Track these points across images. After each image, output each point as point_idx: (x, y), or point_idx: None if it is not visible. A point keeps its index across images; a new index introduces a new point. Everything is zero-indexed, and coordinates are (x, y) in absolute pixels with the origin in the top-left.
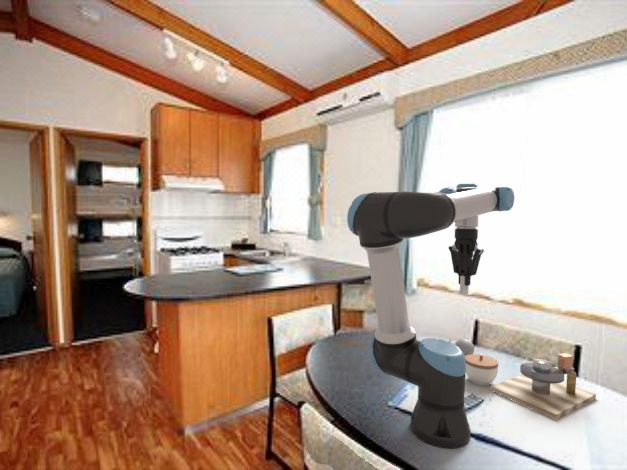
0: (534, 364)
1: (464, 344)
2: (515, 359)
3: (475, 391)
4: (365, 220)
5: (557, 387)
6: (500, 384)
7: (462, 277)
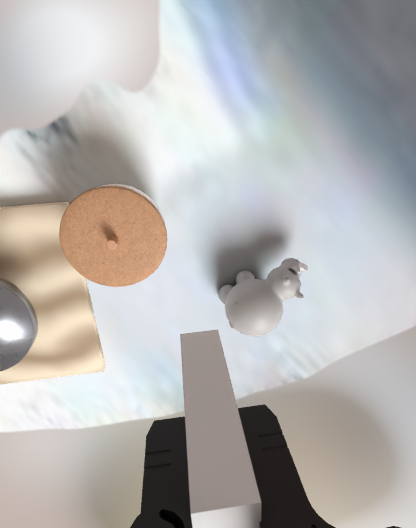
0: None
1: (245, 302)
2: None
3: (79, 157)
4: None
5: None
6: None
7: (216, 490)
